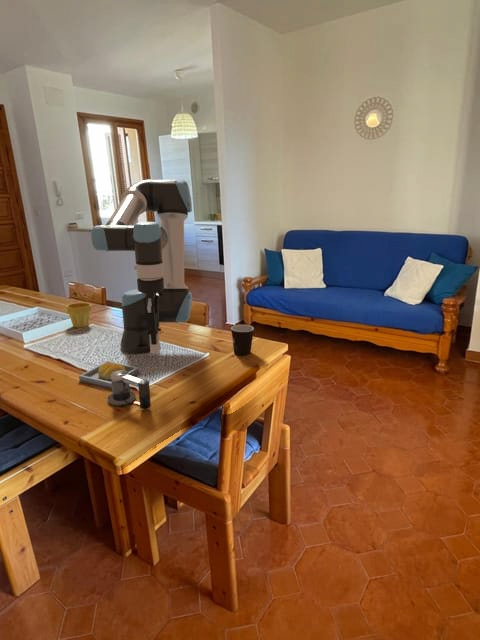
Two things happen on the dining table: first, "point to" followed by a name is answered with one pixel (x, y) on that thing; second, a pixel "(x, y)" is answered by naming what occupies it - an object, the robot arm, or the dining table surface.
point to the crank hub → (121, 395)
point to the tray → (94, 379)
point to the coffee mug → (242, 339)
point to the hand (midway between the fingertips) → (155, 352)
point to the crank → (141, 384)
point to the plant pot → (79, 314)
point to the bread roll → (109, 370)
